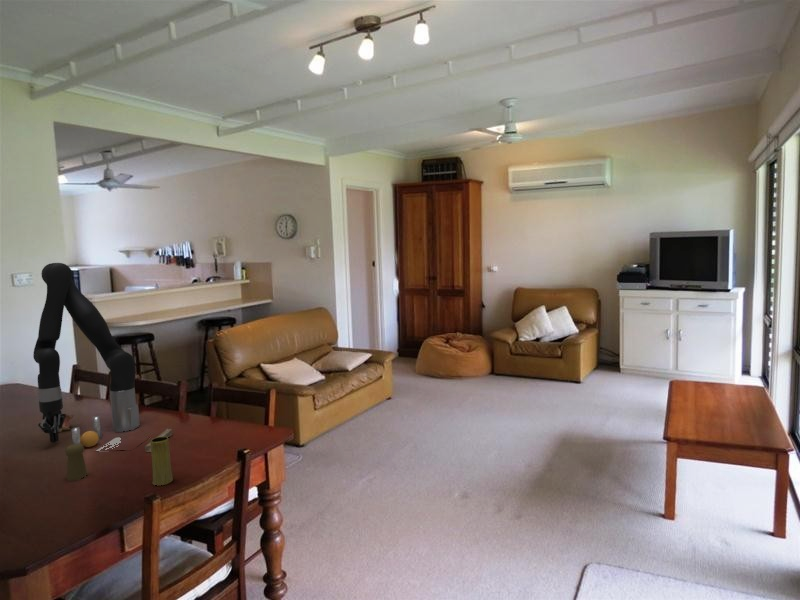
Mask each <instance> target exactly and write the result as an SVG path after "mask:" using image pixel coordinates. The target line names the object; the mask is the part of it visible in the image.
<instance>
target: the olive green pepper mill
mask: <svg viewBox="0 0 800 600" xmlns="http://www.w3.org/2000/svg"><path fill="white" fill-rule="evenodd" d="M84 452H85V446H83V445H82V443H81V444H73V443H72V444H70V445H69V446H67V447H66V449H65V455H66V456H67V469H66V481H68V482H74V481H75V480H76V481H79V480H78V479H80V480H82V479H81V478H83V477H85V476H86V475H87V474H88V475H89V473H88V470H87V466H86V463H85V459H84V456H83V455H84ZM85 478H86V477H85ZM83 479H84V478H83ZM76 481H75V482H76Z"/></svg>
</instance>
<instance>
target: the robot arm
mask: <svg viewBox="0 0 800 600" xmlns="http://www.w3.org/2000/svg"><path fill="white" fill-rule="evenodd" d="M41 279H42V280H43V282H44V283H45V284H46V296H45V297H46V298H45V302H44V306H43V309H42V312H41V315H40V320H39V327H38V333H37V334H38V335H37V339H36V341H35V346H34V349H33V360H34V361H35V363H37V364H38V369H39V371H38V372H39V373H38V375H37V387H38V390H37V391H38V392H37V394H38V395H37V397H38V407H39V412H40V413H41V414H42V421H41V422H39V423H38V427H39V428H40V430H41V431H42V432H43V433H44V434H49V441H50V443H51V444H52V443H58V441H59V438H60V437H59V432H58V431H59V429H61V428H62V425H63V423H64V420H65V417H66V414H67V413H62V410H63V408H64V405H63V393H62V388H61V380H60V368H61V367H60V366H61V358H60V353H59V352H58V351H57V349H56V346H57V341H58V340H60V336H61V334H62V333H61V331H62V323H63V316H64V309H66V310H67V311H66V312H68V314H69V315H70V317H71V319H72V320H73V322H74V323H75V325H76V326H77V327H78V328H79V330H80V331H81V332H82V333H83V335H84V336H85V337H86V338H87V339H88V341H90V343H91V344H92V345H93V346H94V347H95V348H96V350H97V351H98V353H99V354H100V356H101V358H102V360H103V362H104V363H105V366H106V367H107V368H108V370H109V371H110V372H109V374H110V382H109V384H108V385H109V399H110V411H111V420H112V421H111V422H112V430H113V432H114V433H115V432H116V433H123V431H125V432H128V431H129V430H131V431H134V430H135V429H137V428H138V427H140V426H139V425H140V412H139V411H140V410H139V404H138V403H137V401H136V389H135V386H136V385H135V382H136V366H135V358H134V356H133V355H132V354H131V353H130V352H127V351H125V350H124V349H123V348H122V347H121V346H120V345H119V344H118V343H117V341H116V340H115V339H114V337H113V335H112V333H111V331H110V328H109V325H108V324H107V322H106V320H105V318H104V317H103V315H102V314H101V312H100V311H99V310H98V308H97V307H96V306H95V305H94V304H93V303H92V302H91V301H90V300H89V299H88V297H86V296H85V295H84V294H83V293H82V292H81V291H80V289H78V287H77V285H76V284H75V282H74V281H73V270H72V269H71V267H70V266H69V265H67V264H66V263H63V262H52V263H51V262H50V263H47V264H46V265H44V267H43V268H42V269H41Z"/></svg>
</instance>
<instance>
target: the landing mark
mask: <svg viewBox="0 0 800 600" xmlns="http://www.w3.org/2000/svg"><path fill="white" fill-rule="evenodd" d="M120 440H121V438H120V436H119V437H118V436H117V437H116V436H115V438H112V440H110V441H108V442H107V443H105V444H104V445H106V446H104V445H103V447H102V446H100V447H99V448H98V449H97V450H95V451H99V452H101V451H100V450H101V449H103V448H104V447H107V446H108V445H112V446H110V447H109V448H112V447H114V446H115V445H118V444H119V443H121V441H120ZM109 443H110V444H109ZM116 443H117V444H116ZM107 444H108V445H107ZM114 444H115V445H114ZM118 446H119V445H118ZM118 446H116V447H118ZM109 448H106V449H105V450H107V449H109ZM114 448H115V447H114ZM112 449H113V448H112Z"/></svg>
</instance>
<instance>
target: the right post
mask: <svg viewBox="0 0 800 600" xmlns="http://www.w3.org/2000/svg"><path fill="white" fill-rule="evenodd" d="M91 419H92V427H93V428H92V429H93V430H92V431H94V432H96V433H97V434H98V436H99V439H98V441H99V440H101V439H103V436H102V428H101V416H100V415H95V416H92V417H91Z"/></svg>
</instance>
